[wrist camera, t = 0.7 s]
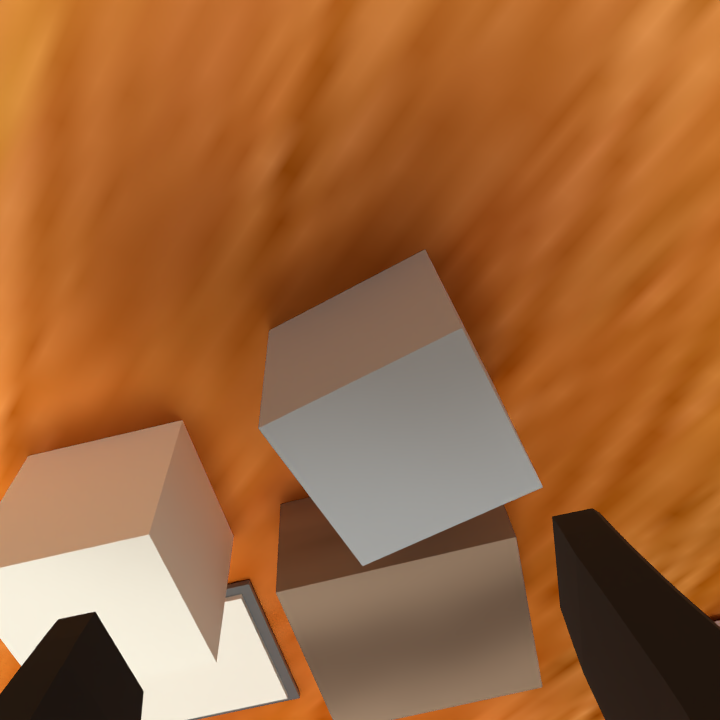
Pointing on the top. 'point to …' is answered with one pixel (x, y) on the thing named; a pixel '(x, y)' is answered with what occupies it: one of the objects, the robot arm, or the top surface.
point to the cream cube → (117, 549)
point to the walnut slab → (407, 616)
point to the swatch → (226, 669)
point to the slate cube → (390, 413)
